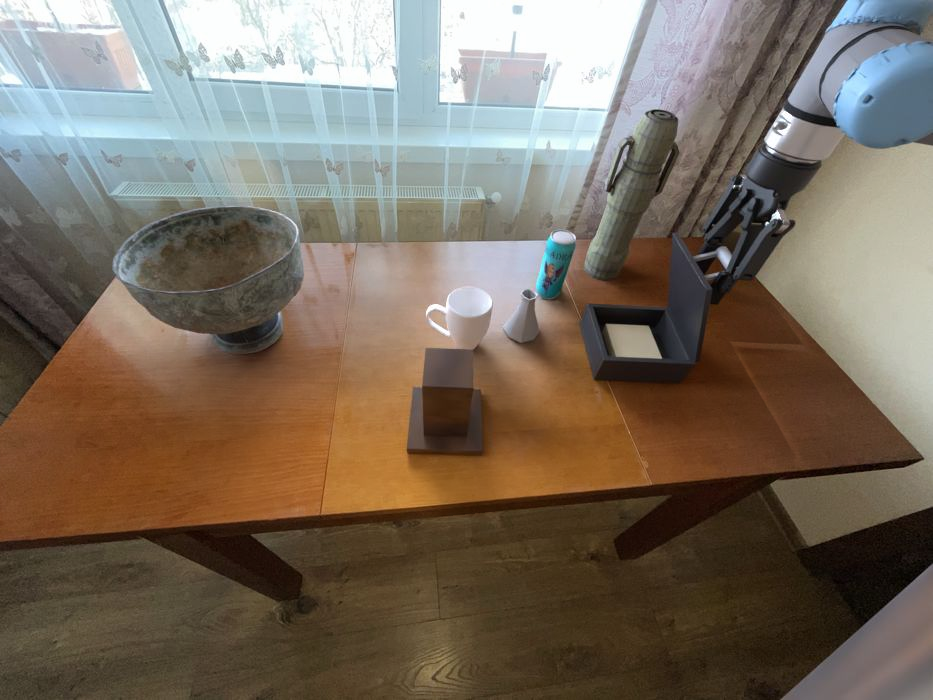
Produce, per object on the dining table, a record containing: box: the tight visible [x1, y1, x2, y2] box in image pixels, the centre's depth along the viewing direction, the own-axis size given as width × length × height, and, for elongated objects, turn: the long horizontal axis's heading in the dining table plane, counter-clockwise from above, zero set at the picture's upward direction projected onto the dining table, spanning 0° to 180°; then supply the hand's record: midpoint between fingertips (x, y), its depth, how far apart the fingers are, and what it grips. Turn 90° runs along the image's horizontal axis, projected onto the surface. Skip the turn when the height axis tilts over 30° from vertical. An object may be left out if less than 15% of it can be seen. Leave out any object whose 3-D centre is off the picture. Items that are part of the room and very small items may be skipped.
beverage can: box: [535, 229, 577, 301], centre depth 86 cm, size 6×6×15 cm
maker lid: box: [667, 231, 738, 364], centre depth 70 cm, size 18×15×7 cm
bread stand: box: [406, 347, 484, 456], centre depth 62 cm, size 12×12×15 cm
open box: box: [578, 302, 697, 384], centre depth 79 cm, size 17×15×6 cm
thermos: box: [583, 108, 680, 281], centre depth 86 cm, size 9×12×35 cm
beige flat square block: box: [602, 324, 662, 359], centre depth 80 cm, size 9×9×2 cm
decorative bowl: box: [111, 205, 305, 355], centre depth 72 cm, size 26×26×20 cm
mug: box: [425, 286, 494, 351], centre depth 75 cm, size 12×8×11 cm
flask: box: [502, 287, 540, 344], centre depth 80 cm, size 7×7×10 cm
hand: (701, 289), depth 69 cm, fingers closed on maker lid, 6 cm apart
